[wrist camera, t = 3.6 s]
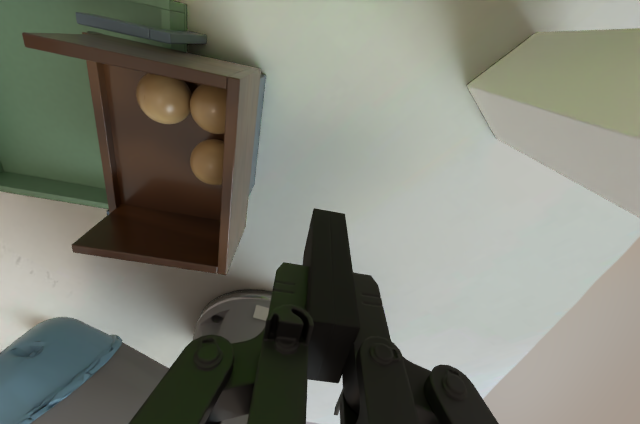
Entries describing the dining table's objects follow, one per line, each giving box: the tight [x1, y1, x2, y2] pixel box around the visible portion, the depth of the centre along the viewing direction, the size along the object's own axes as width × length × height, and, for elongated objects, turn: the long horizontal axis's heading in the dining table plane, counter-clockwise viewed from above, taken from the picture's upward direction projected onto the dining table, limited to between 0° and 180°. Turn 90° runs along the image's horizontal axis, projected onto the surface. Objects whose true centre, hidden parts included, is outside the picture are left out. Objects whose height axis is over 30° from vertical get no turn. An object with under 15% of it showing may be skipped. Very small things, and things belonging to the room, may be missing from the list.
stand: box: [75, 12, 266, 215], centre depth 24 cm, size 14×10×7 cm
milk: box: [467, 28, 640, 218], centre depth 16 cm, size 6×6×22 cm
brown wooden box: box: [22, 31, 261, 275], centre depth 19 cm, size 12×10×6 cm
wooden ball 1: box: [136, 73, 192, 124], centre depth 18 cm, size 3×3×3 cm
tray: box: [0, 0, 187, 209], centre depth 25 cm, size 17×17×3 cm
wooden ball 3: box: [190, 139, 224, 185], centre depth 20 cm, size 3×3×3 cm
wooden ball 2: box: [190, 85, 227, 134], centre depth 18 cm, size 3×3×3 cm
